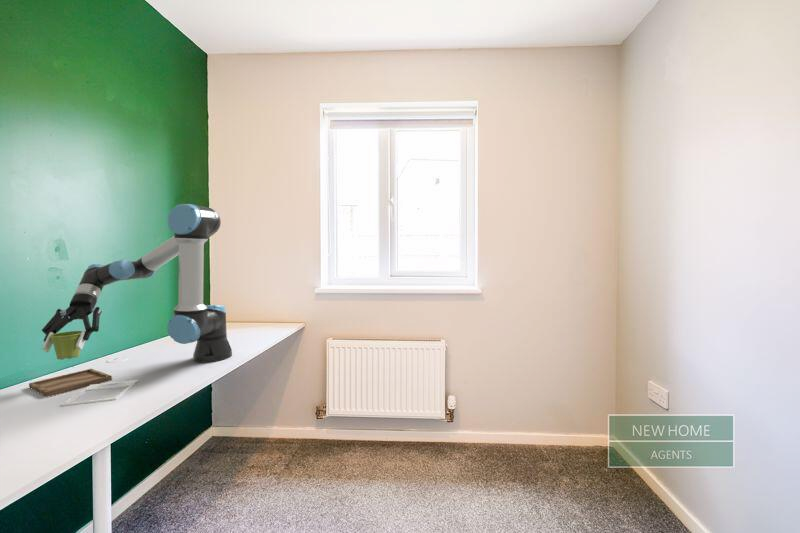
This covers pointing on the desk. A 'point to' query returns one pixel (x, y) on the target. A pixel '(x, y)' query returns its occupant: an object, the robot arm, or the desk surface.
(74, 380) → the walnut tray
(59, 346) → the plant pot
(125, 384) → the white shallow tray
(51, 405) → the desk surface
